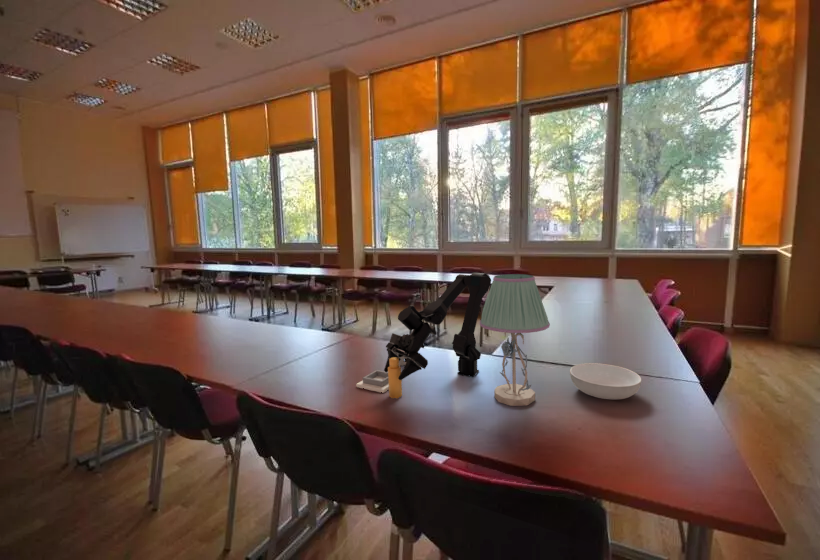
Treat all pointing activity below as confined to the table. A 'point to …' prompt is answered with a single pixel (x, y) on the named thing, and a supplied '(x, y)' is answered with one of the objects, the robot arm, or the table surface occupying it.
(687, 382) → the table surface
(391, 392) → the orange bottle
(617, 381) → the serving bowl
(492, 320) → the table lamp
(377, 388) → the plate
